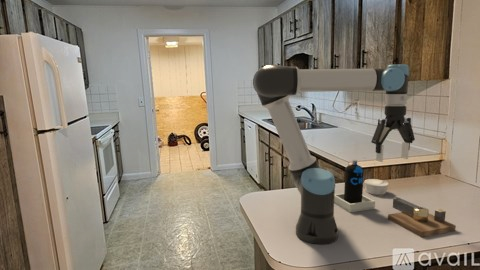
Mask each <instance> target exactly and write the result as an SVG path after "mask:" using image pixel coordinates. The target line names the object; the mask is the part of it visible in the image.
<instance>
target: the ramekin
mask: <svg viewBox="0 0 480 270" xmlns="http://www.w3.org/2000/svg"><path fill="white" fill-rule="evenodd" d="M363 184H364V188H365V189H364V190H365V191H366V193H368V194H371V195H374V196H375V195H376V196H383V195H385V194H386V193H387V190H388V187H389V182H388V181H386V180H382V179H377V178H368V179H365V180H363Z"/></svg>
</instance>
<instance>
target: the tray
mask: <svg viewBox="0 0 480 270" xmlns="http://www.w3.org/2000/svg"><path fill="white" fill-rule="evenodd" d="M334 205H337V206H339V207H340V208H341V209H343V210H345V211H346V212H348V213H350V214H351V213H356V212H362V211H368V210H375V209H376V208H375V207H376V200H374V199H372V198H370V197H368V196H365V195H364V194H362V202H358V203H352V204H350V203H348V202H347V201H345V200H344V192H343V193H335V194H334Z"/></svg>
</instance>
